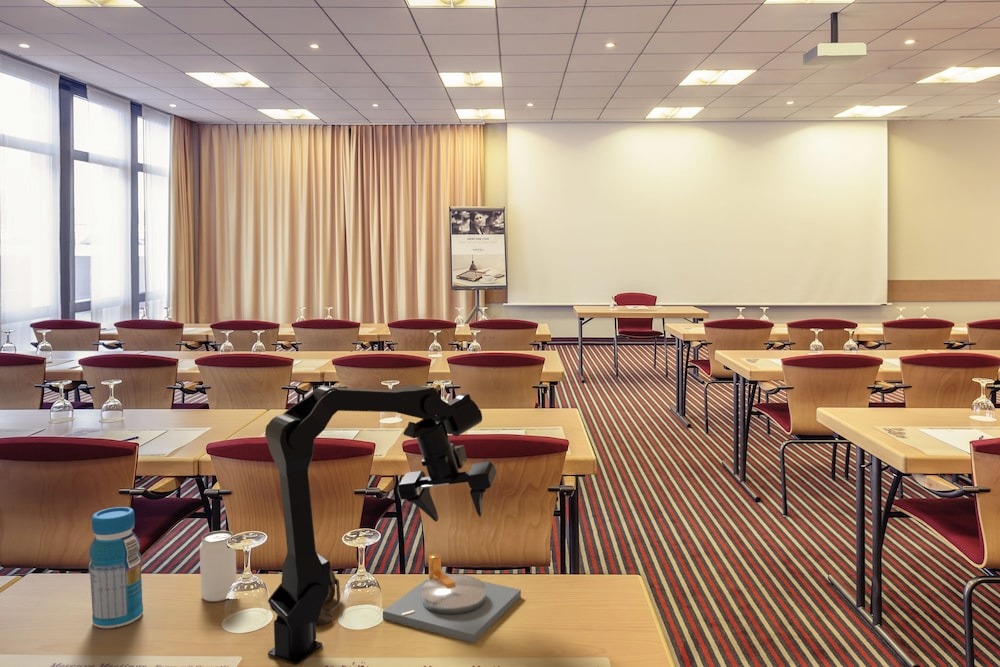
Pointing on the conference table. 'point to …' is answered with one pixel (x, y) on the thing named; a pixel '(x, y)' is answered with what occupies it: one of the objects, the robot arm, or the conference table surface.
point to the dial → (451, 590)
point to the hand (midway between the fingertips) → (458, 517)
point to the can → (217, 566)
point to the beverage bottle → (115, 569)
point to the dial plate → (453, 625)
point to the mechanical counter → (325, 613)
